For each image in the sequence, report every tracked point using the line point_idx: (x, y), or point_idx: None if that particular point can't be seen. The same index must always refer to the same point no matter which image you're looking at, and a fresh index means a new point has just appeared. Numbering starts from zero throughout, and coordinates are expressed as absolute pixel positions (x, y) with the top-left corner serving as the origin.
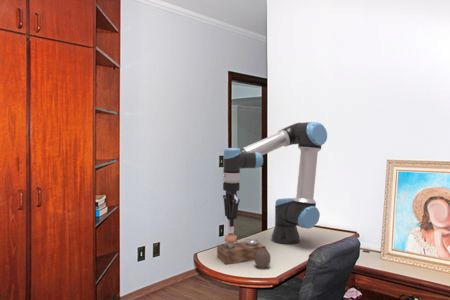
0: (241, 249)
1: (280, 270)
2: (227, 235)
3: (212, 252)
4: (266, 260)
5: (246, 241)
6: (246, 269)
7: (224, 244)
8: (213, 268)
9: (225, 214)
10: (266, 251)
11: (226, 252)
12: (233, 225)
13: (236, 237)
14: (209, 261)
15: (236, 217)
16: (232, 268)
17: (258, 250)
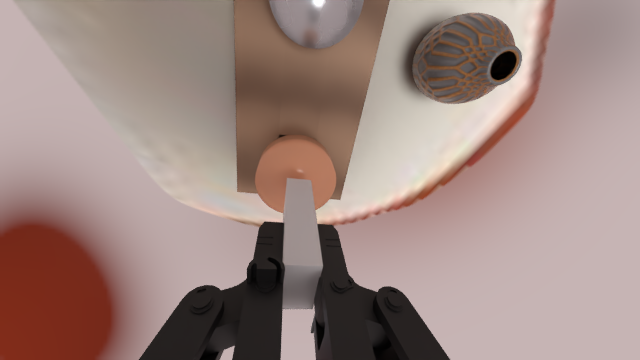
0: (357, 127)
1: (519, 15)
2: (270, 191)
3: (170, 147)
4: (493, 70)
5: (309, 47)
6: (409, 135)
7: (241, 158)
8: (335, 215)
9: (209, 354)
10: (515, 57)
11: (339, 196)
12: (337, 234)
13: (328, 158)
14: None
15: (410, 307)
16: (370, 170)
17: (471, 90)
